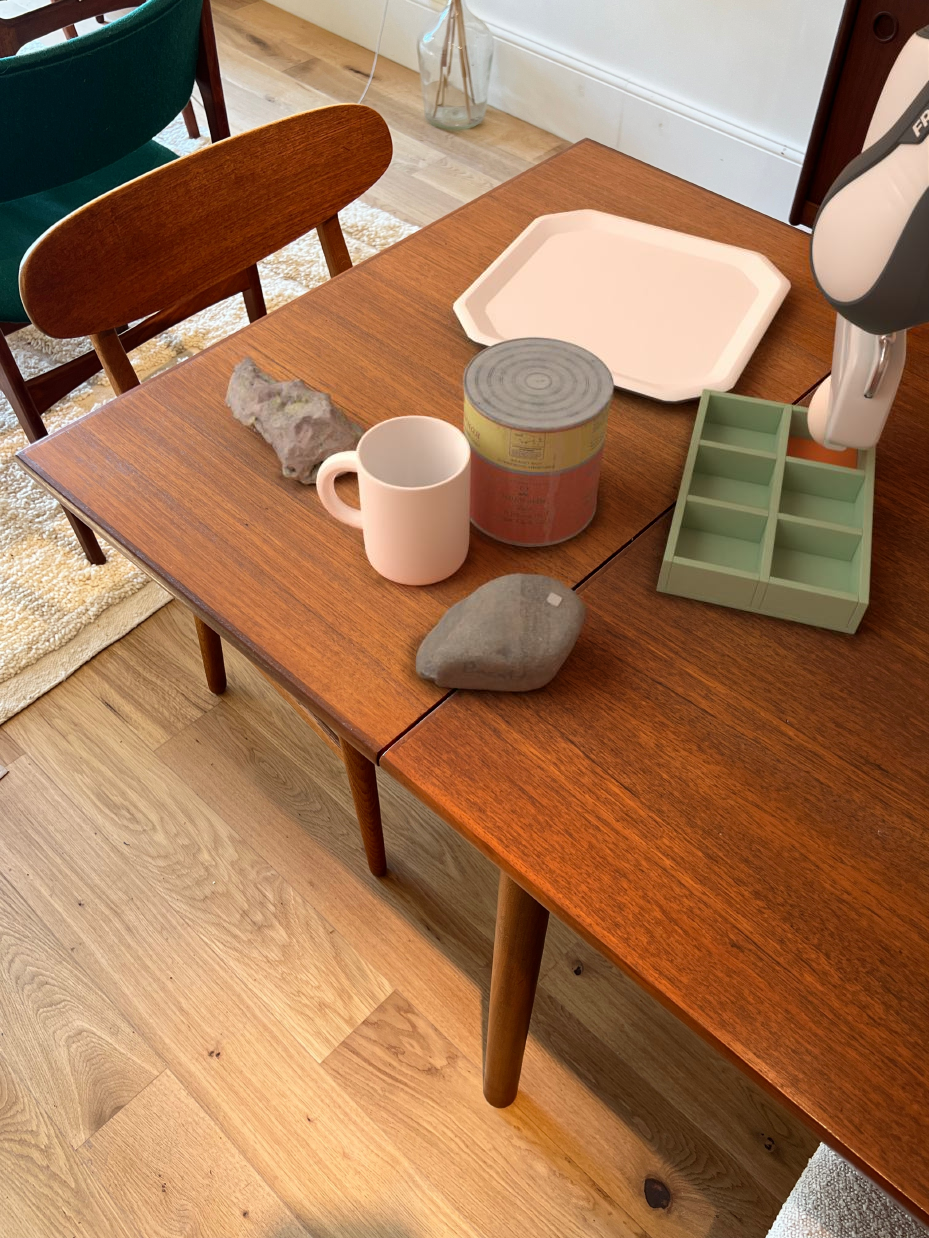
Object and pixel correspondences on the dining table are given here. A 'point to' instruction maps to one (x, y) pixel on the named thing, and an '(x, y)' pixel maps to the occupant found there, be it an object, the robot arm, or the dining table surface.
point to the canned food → (535, 438)
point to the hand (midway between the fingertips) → (836, 422)
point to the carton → (771, 517)
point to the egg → (819, 412)
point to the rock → (291, 420)
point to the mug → (407, 497)
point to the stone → (504, 635)
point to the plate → (630, 301)
